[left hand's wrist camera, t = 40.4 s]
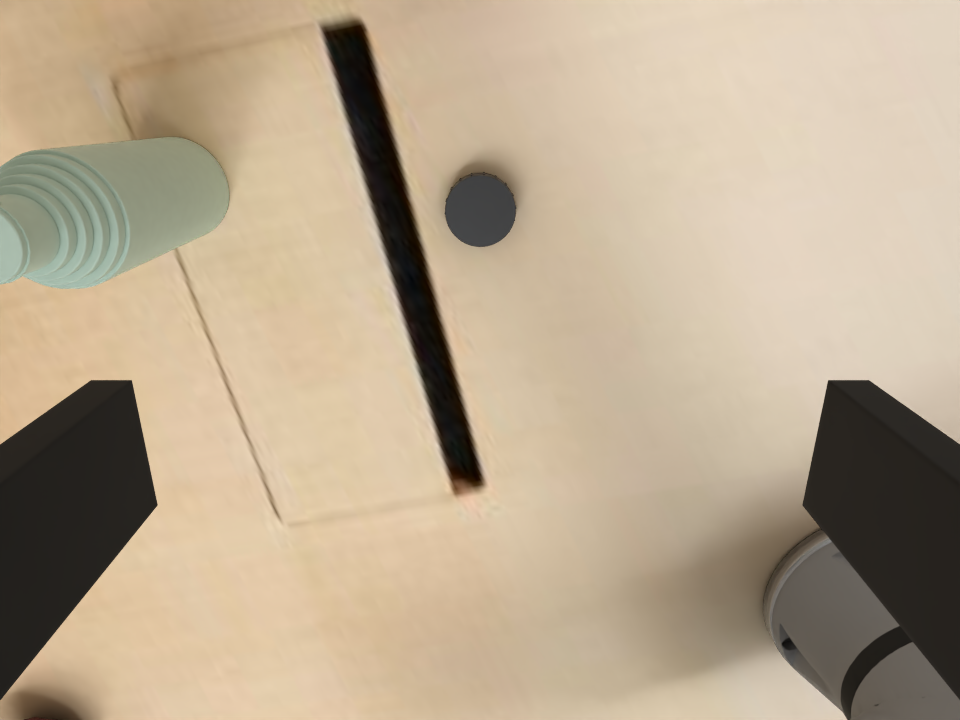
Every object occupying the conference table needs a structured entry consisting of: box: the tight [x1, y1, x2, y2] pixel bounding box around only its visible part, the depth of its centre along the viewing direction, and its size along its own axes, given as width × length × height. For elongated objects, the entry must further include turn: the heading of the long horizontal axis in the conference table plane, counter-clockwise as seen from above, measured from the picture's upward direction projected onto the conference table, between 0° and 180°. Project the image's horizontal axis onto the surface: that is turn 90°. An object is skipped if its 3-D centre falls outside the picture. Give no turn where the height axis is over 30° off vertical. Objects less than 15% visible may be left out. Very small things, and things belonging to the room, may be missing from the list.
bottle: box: [0, 137, 229, 289], centre depth 33 cm, size 6×6×18 cm
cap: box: [445, 172, 516, 247], centre depth 41 cm, size 4×4×2 cm
